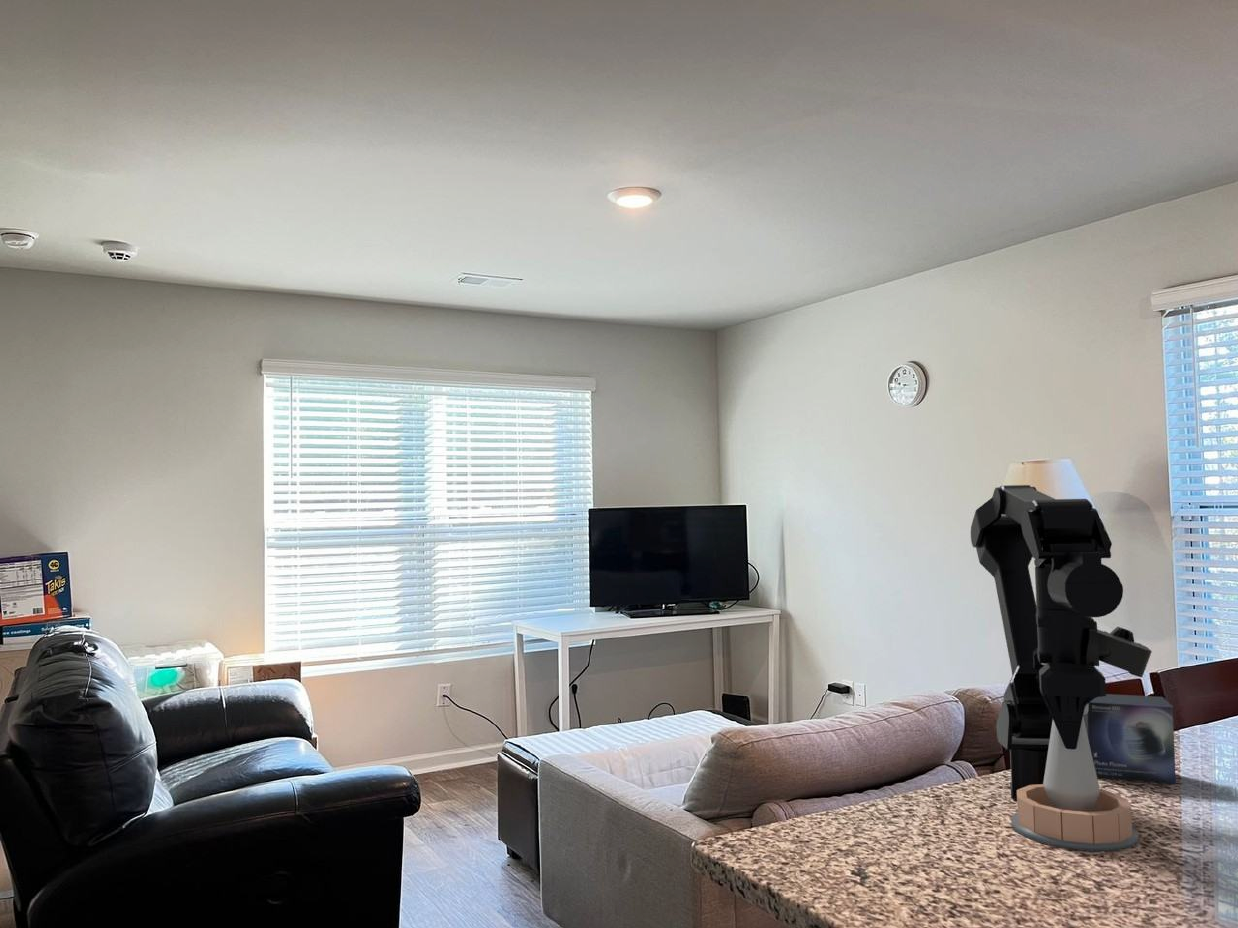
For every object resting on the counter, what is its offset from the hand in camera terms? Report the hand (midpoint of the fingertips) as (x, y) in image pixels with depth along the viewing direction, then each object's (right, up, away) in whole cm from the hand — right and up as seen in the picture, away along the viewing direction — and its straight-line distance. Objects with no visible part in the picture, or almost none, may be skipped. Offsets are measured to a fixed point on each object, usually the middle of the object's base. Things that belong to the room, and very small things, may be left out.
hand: (1069, 744), depth 105 cm
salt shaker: (0, -7, 0) cm, 7 cm away
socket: (0, -10, -1) cm, 10 cm away
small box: (+18, -11, +21) cm, 30 cm away
